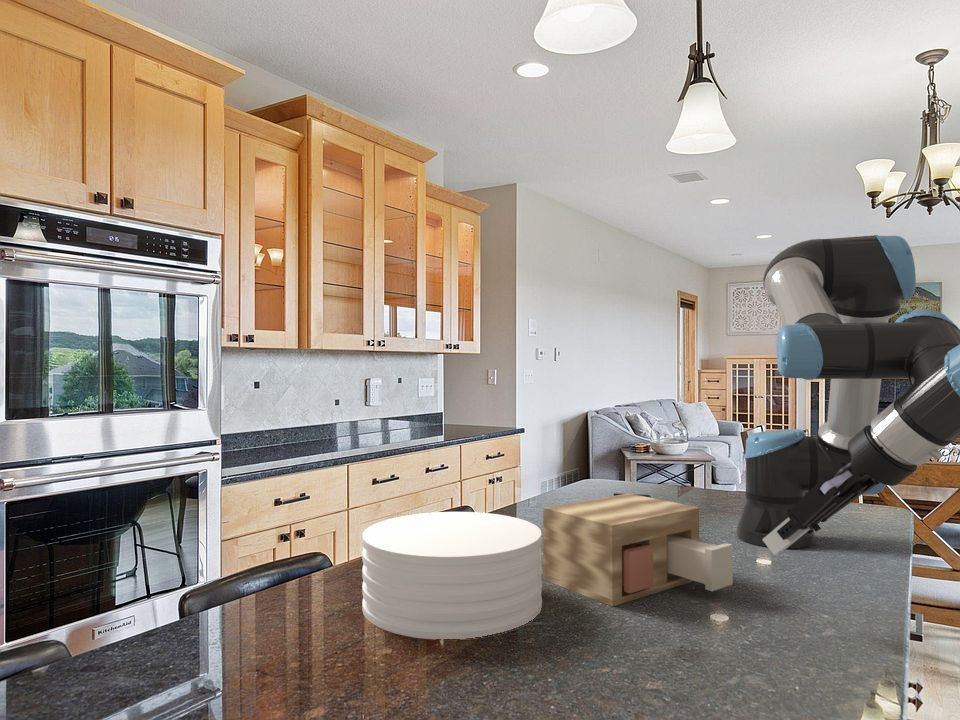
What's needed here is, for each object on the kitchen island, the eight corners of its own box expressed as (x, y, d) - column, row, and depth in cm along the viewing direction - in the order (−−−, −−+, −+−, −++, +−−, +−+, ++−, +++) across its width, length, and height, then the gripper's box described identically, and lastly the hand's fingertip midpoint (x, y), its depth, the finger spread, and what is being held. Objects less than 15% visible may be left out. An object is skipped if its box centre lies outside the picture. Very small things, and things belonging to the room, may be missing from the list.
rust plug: (653, 586, 106) (653, 546, 106) (629, 593, 103) (629, 552, 103) (577, 561, 120) (577, 525, 120) (554, 566, 117) (554, 530, 117)
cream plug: (732, 584, 107) (732, 544, 107) (711, 591, 104) (711, 550, 104) (648, 559, 121) (648, 524, 121) (627, 564, 118) (627, 528, 118)
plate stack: (578, 603, 104) (577, 530, 104) (447, 659, 84) (446, 569, 84) (456, 566, 124) (456, 504, 124) (326, 604, 104) (326, 531, 104)
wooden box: (699, 579, 115) (699, 507, 115) (612, 606, 102) (612, 525, 102) (628, 557, 128) (628, 493, 128) (543, 579, 115) (543, 507, 115)
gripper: (893, 474, 78) (762, 578, 91) (939, 463, 85) (812, 561, 99) (846, 425, 82) (728, 531, 96) (894, 419, 90) (778, 518, 103)
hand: (771, 546), depth 97 cm, fingers closed
